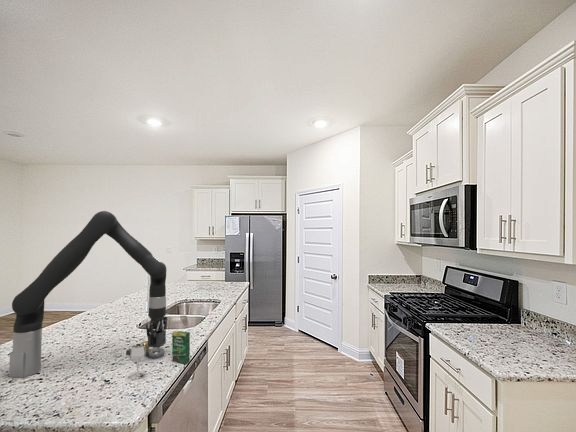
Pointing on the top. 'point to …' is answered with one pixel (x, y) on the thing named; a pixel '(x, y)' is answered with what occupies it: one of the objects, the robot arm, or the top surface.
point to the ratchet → (151, 353)
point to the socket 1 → (145, 344)
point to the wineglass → (137, 357)
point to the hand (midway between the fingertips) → (156, 342)
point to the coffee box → (181, 347)
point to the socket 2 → (159, 338)
